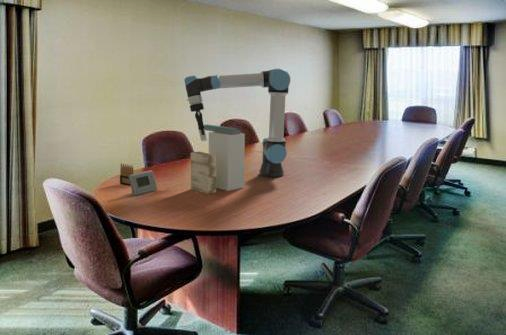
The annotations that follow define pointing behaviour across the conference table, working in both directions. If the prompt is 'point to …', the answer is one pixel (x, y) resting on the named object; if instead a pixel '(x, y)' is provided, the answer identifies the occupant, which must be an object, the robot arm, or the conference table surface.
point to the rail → (211, 128)
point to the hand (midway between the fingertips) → (204, 140)
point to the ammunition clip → (125, 174)
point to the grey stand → (228, 158)
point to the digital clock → (142, 183)
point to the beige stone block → (203, 172)
